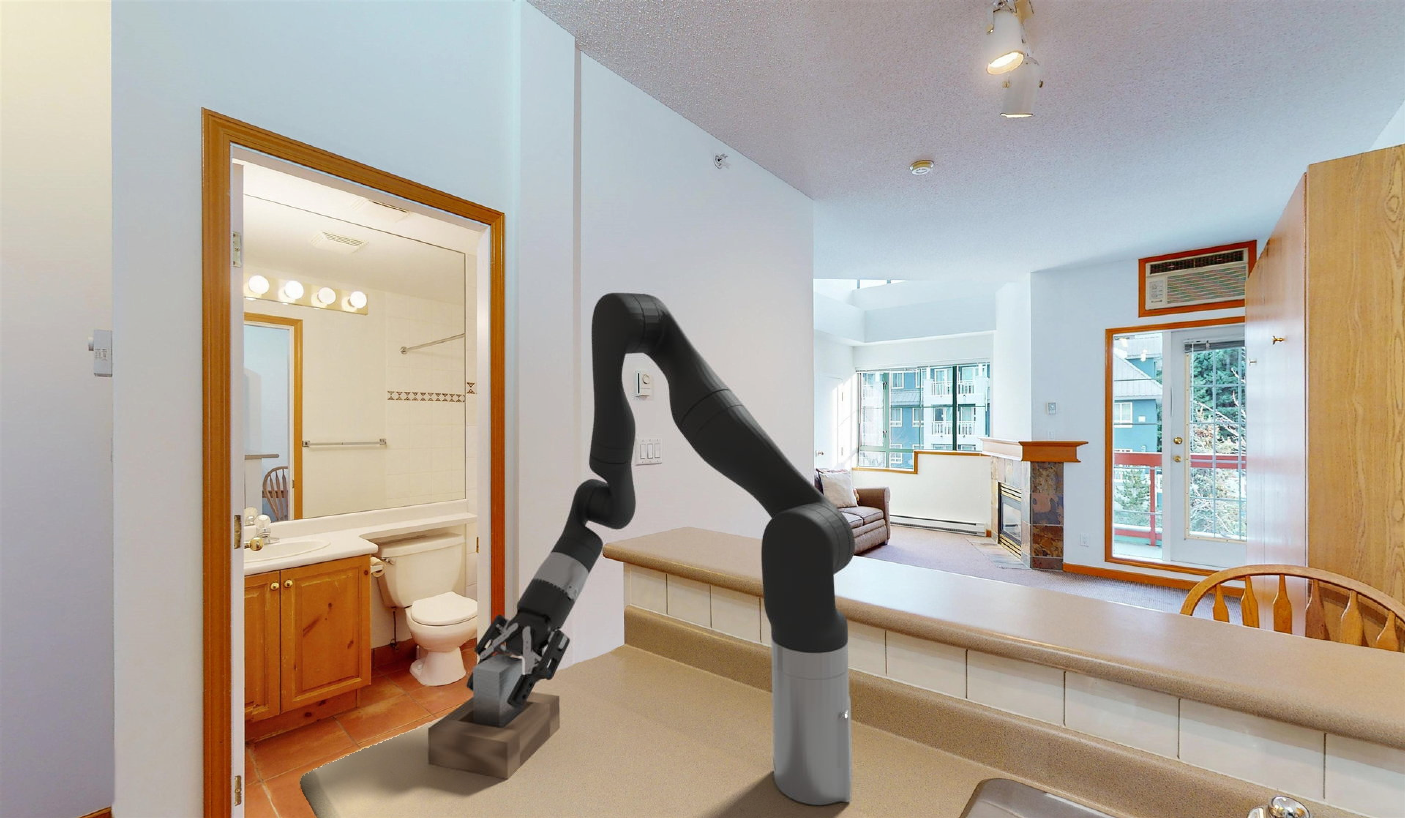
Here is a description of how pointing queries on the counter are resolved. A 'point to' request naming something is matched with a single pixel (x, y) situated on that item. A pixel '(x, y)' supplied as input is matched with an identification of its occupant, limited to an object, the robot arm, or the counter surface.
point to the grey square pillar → (495, 690)
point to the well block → (493, 738)
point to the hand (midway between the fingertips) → (491, 697)
